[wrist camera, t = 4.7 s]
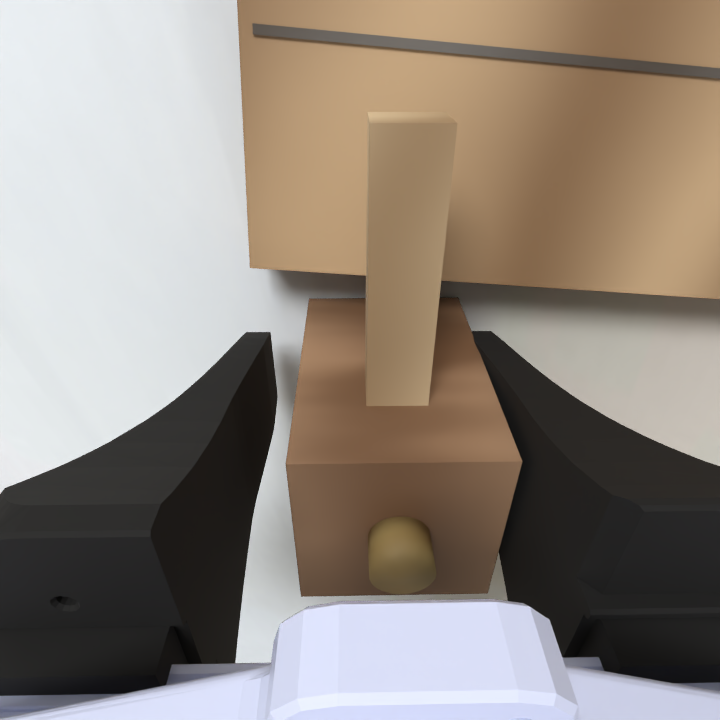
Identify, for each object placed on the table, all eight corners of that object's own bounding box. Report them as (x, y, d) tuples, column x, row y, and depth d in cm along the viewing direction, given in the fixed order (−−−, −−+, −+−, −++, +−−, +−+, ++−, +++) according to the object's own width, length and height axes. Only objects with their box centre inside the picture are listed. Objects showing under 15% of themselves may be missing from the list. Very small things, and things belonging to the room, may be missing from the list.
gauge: (485, 86, 11) (641, 162, 5) (443, 411, 16) (496, 631, 10) (295, 86, 10) (234, 164, 5) (316, 412, 16) (298, 634, 10)
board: (1074, -133, 9) (1198, -159, 7) (807, 281, 13) (856, 309, 12) (243, -240, 8) (222, -290, 7) (259, 243, 12) (249, 268, 11)
